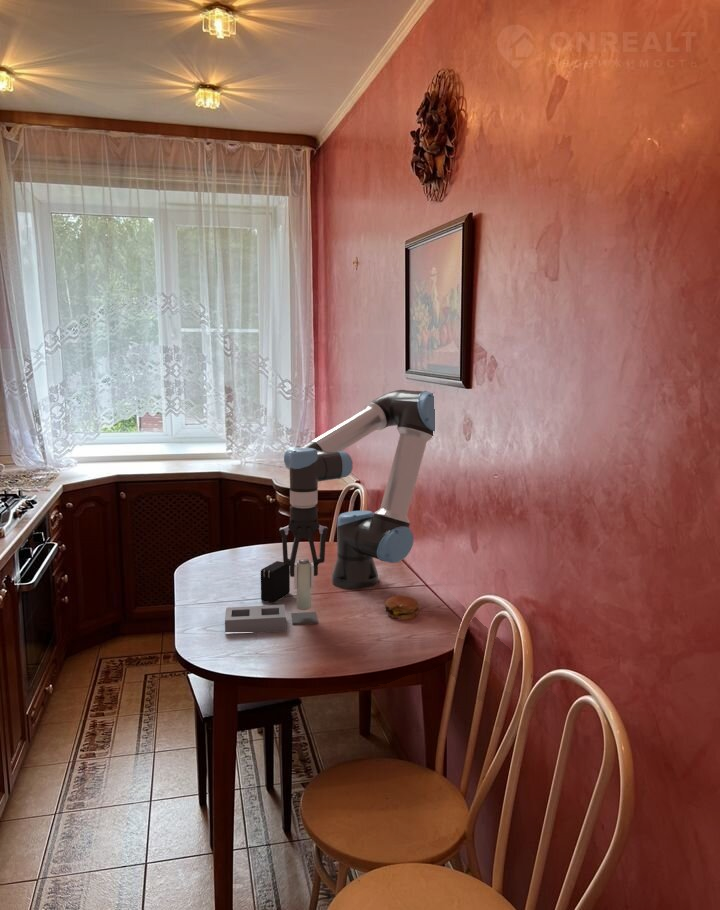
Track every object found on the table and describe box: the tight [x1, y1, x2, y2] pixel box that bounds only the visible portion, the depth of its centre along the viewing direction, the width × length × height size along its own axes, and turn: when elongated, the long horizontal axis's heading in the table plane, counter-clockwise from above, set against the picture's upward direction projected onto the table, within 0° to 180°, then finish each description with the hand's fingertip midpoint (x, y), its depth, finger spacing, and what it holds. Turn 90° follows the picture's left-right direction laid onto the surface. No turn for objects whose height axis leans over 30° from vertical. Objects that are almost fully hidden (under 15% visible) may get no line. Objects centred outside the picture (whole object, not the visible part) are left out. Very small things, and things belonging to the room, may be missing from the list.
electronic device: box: [260, 560, 291, 604], centre depth 206 cm, size 4×10×10 cm, turn 155°
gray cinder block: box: [224, 604, 287, 633], centre depth 185 cm, size 16×9×4 cm, turn 99°
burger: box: [384, 594, 420, 621], centre depth 194 cm, size 10×9×5 cm
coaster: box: [290, 611, 319, 626], centre depth 190 cm, size 7×7×1 cm
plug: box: [296, 558, 312, 611], centre depth 188 cm, size 4×4×14 cm
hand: (303, 587), depth 188 cm, fingers closed on plug, 4 cm apart
